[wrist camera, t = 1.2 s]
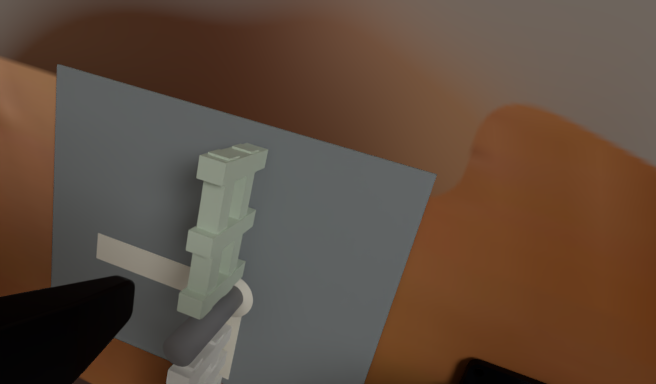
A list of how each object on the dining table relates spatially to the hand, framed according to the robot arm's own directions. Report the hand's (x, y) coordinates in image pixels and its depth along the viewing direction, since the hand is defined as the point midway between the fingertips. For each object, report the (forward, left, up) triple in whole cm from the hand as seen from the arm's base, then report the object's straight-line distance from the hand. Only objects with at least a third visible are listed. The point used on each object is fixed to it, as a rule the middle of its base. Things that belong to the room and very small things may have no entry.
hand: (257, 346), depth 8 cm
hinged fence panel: (+5, +2, -11) cm, 13 cm away
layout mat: (+7, +6, -12) cm, 15 cm away
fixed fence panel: (+5, +11, -12) cm, 17 cm away
